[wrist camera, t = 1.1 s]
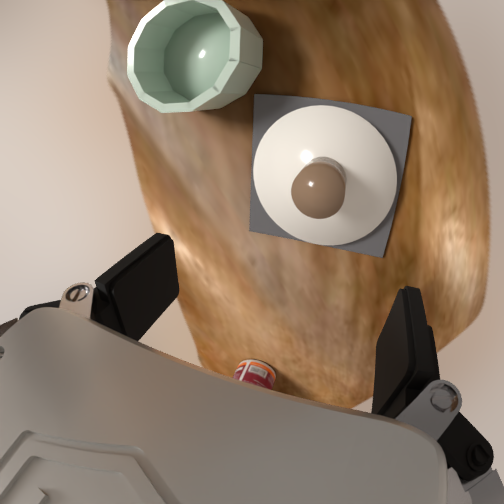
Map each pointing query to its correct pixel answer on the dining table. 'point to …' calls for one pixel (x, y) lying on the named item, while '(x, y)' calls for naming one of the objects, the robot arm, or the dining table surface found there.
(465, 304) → the dining table surface
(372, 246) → the mat
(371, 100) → the dining table surface
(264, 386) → the pill bottle
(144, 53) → the bowl
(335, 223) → the lid
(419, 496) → the robot arm
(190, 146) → the dining table surface
